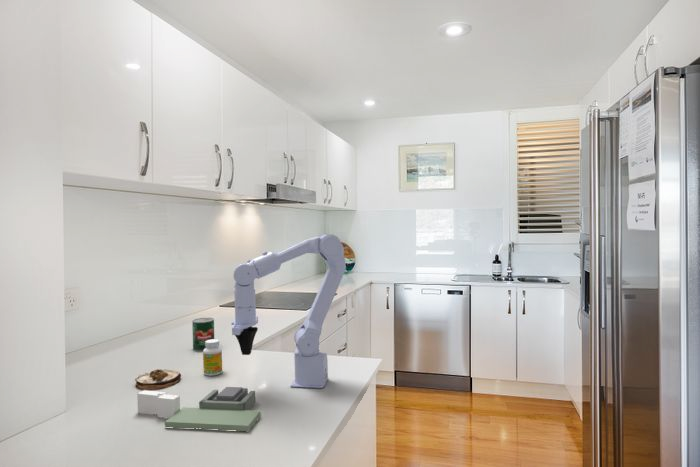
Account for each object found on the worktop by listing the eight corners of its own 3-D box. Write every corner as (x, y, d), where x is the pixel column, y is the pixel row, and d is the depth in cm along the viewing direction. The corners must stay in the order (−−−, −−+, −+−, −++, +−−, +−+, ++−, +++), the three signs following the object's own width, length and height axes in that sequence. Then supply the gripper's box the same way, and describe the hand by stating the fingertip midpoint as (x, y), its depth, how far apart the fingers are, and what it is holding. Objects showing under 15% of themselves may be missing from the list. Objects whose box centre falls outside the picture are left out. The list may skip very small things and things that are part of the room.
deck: (271, 403, 115) (271, 391, 115) (248, 432, 99) (247, 419, 99) (199, 400, 118) (198, 389, 118) (165, 428, 102) (164, 415, 102)
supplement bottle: (203, 377, 136) (202, 344, 136) (204, 371, 142) (203, 339, 141) (222, 374, 138) (221, 342, 137) (222, 369, 143) (221, 337, 143)
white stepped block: (127, 413, 112) (127, 390, 112) (174, 401, 119) (173, 380, 119) (139, 435, 100) (139, 410, 100) (191, 421, 107) (190, 397, 106)
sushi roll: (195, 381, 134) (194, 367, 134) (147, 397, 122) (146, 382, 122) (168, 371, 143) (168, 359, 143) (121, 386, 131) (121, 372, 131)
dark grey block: (247, 401, 117) (247, 385, 117) (235, 414, 109) (235, 397, 109) (226, 400, 118) (226, 384, 118) (212, 413, 110) (212, 396, 110)
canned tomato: (201, 352, 162) (200, 323, 162) (188, 349, 167) (187, 320, 167) (219, 347, 168) (218, 319, 168) (206, 344, 173) (205, 316, 173)
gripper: (241, 301, 133) (242, 346, 133) (220, 311, 118) (222, 361, 119) (264, 301, 132) (265, 347, 132) (245, 311, 117) (247, 362, 118)
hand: (246, 354), depth 125 cm, fingers closed
